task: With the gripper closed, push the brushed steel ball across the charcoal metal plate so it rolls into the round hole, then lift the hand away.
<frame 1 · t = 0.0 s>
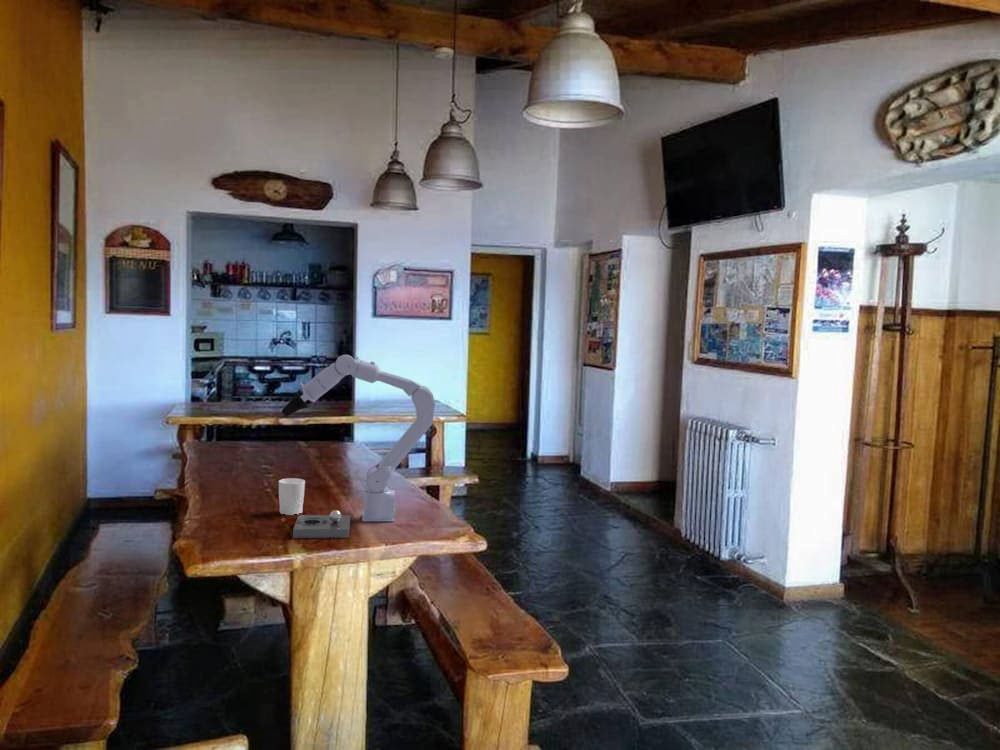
hand: (285, 412, 223), 32 cm above the table, tool tilted 50°, fingers open, 7 cm apart
hole plate: (322, 530, 215), on the table
steel ball: (335, 516, 215), point 4 cm above the table, touching hole plate
white cup: (291, 513, 233), on the table
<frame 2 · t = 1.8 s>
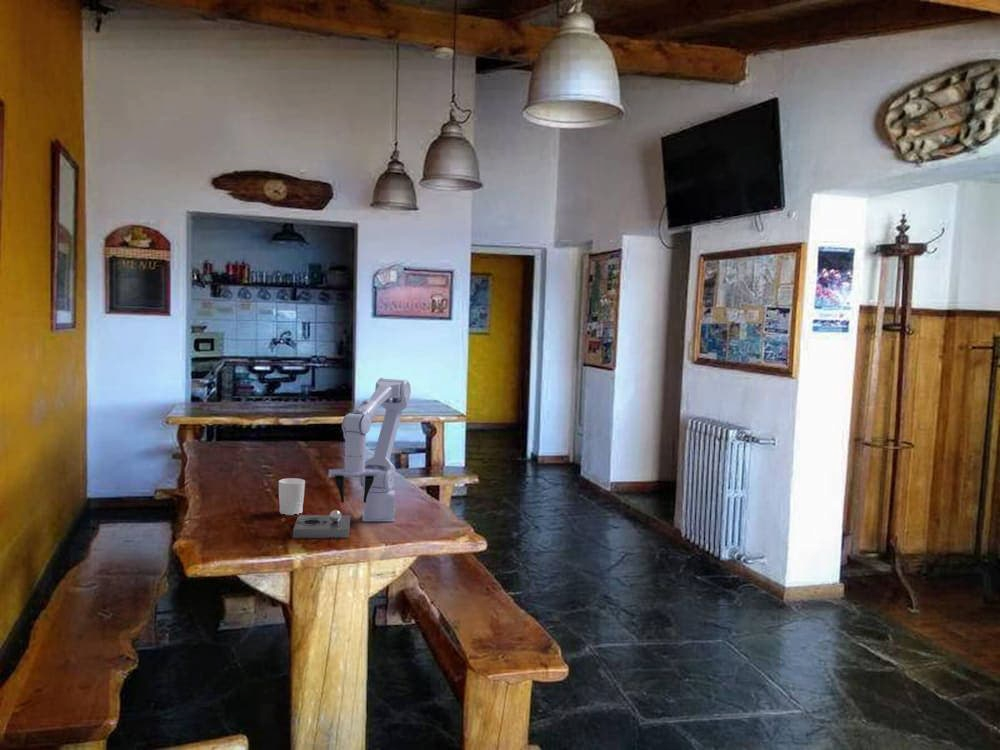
hand: (353, 501, 216), 8 cm above the table, tool pointing down, fingers open, 6 cm apart
nothing on the table moved.
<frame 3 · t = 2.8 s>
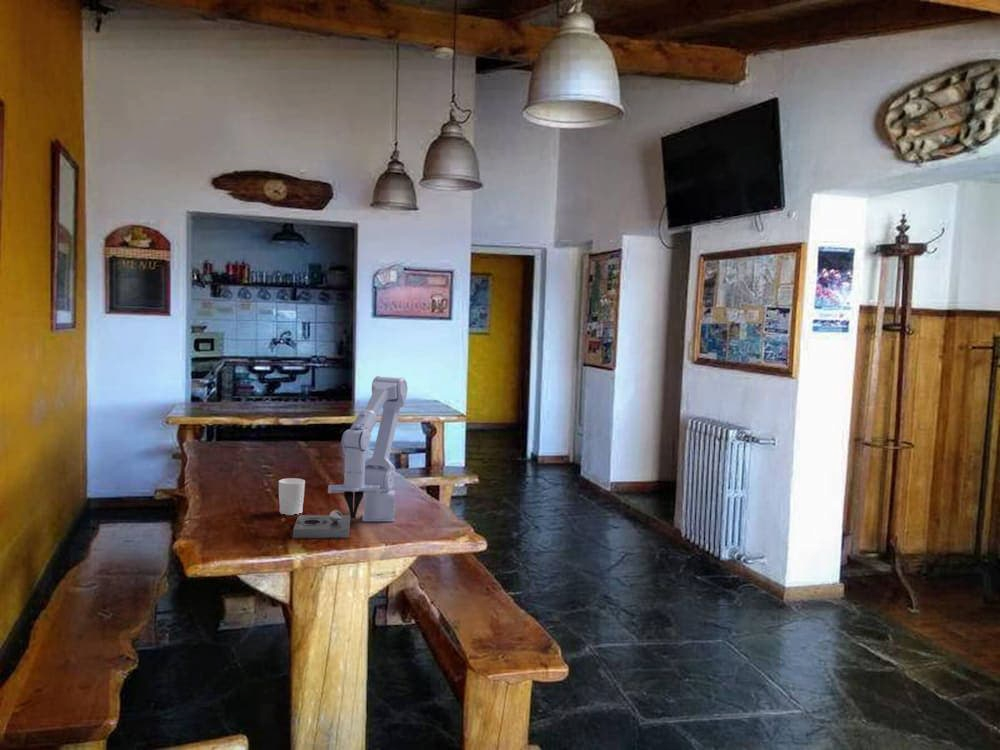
hand: (353, 517, 216), 4 cm above the table, tool pointing down, fingers closed
nothing on the table moved.
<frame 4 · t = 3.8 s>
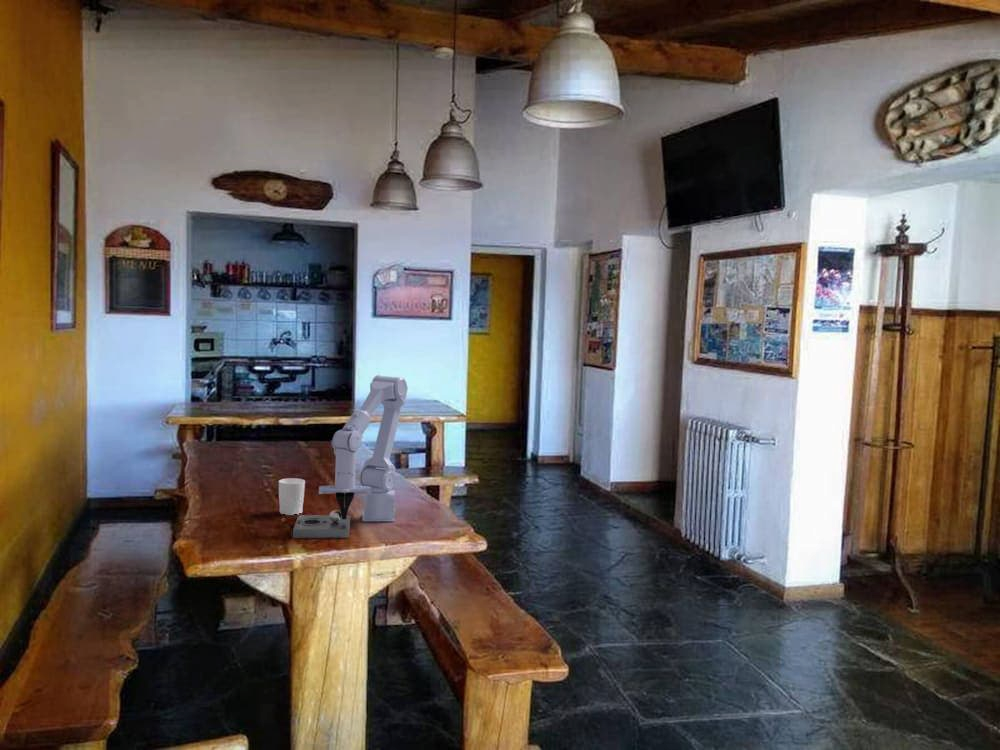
hand: (344, 518, 216), 4 cm above the table, tool pointing down, fingers closed, pressing on steel ball
steel ball: (335, 516, 215), point 4 cm above the table, touching gripper, hole plate
everything else where it was.
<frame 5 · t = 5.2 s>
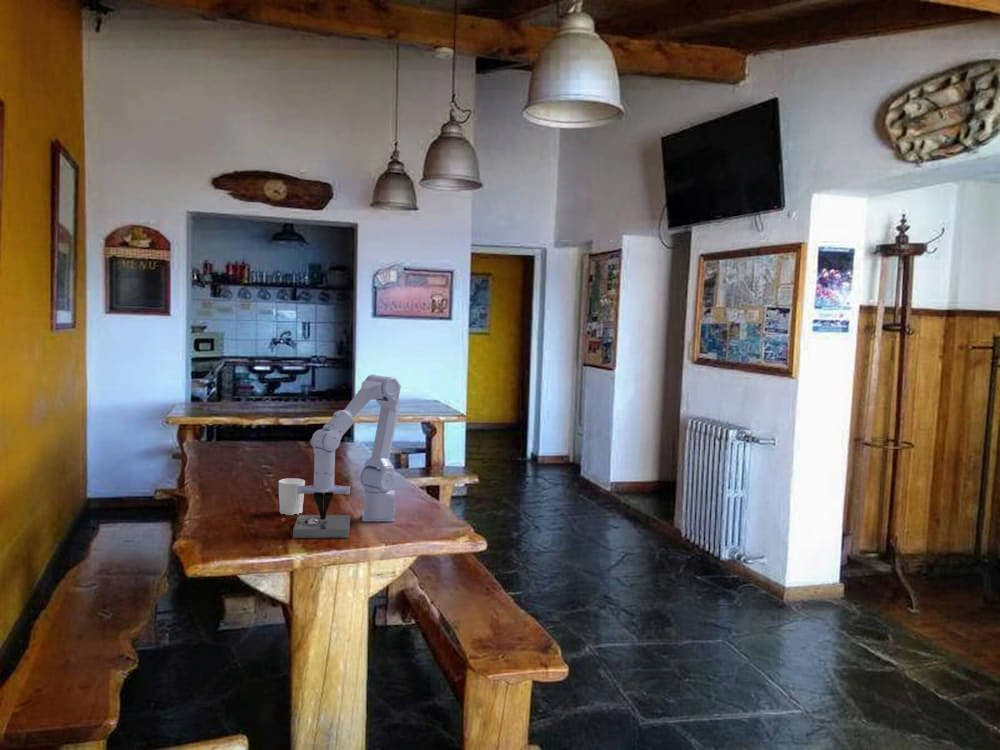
hand: (323, 518, 215), 4 cm above the table, tool pointing down, fingers closed
steel ball: (313, 524, 215), point 2 cm above the table, tilted 141°
everything else where it was.
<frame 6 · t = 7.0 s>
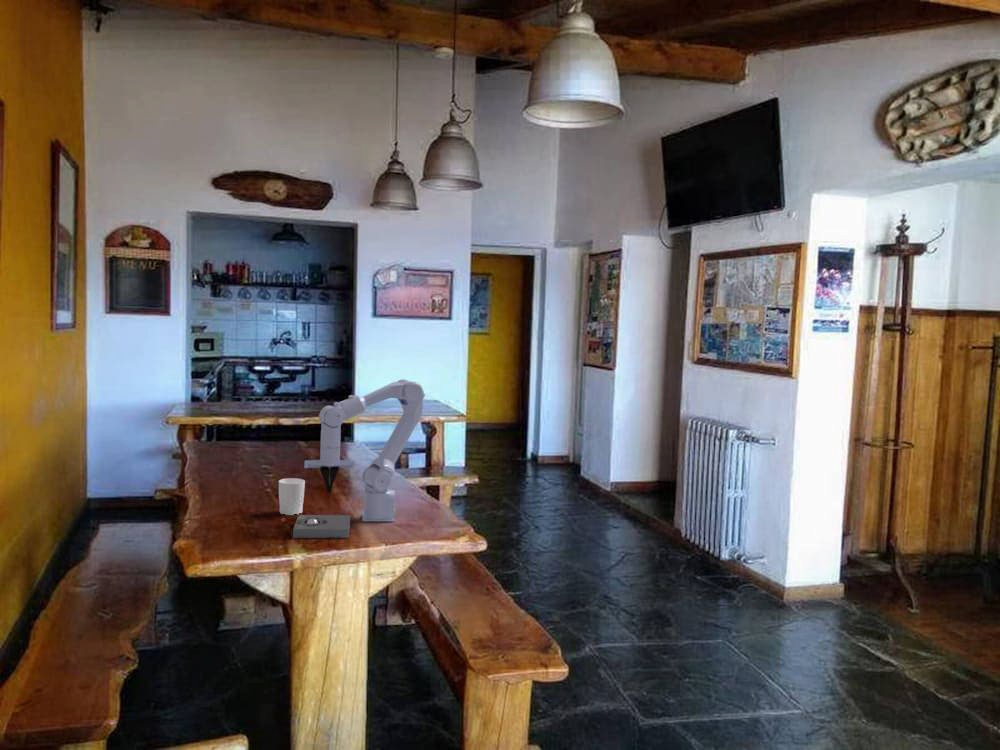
hand: (329, 492, 222), 9 cm above the table, tool pointing down, fingers closed
nothing on the table moved.
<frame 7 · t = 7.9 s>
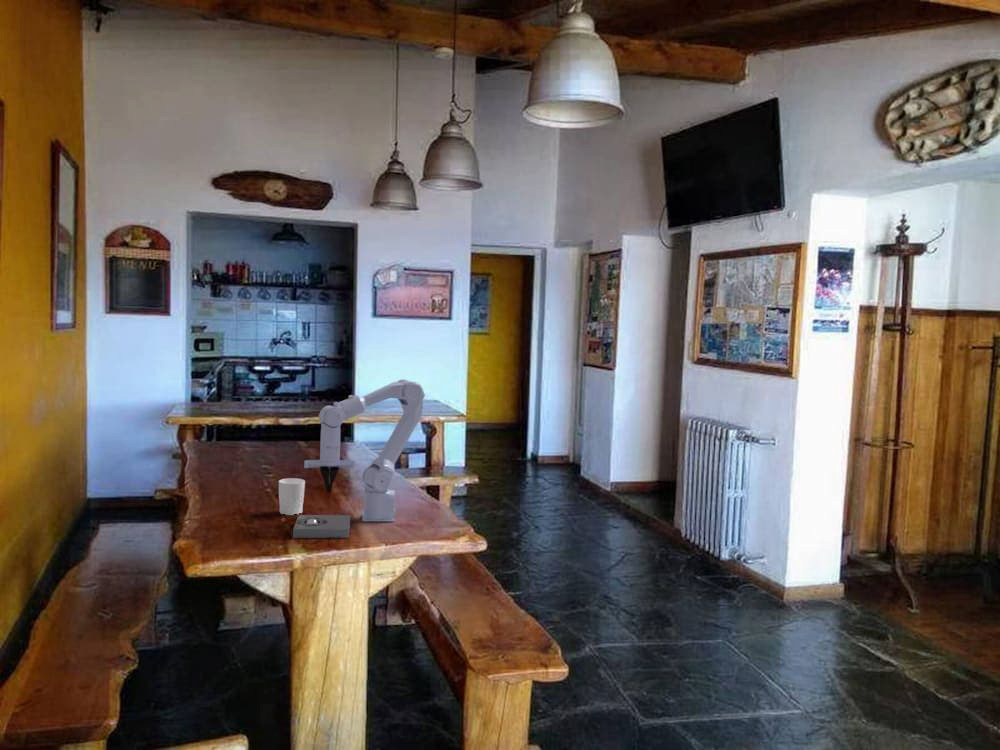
hand: (328, 491, 222), 9 cm above the table, tool pointing down, fingers closed
nothing on the table moved.
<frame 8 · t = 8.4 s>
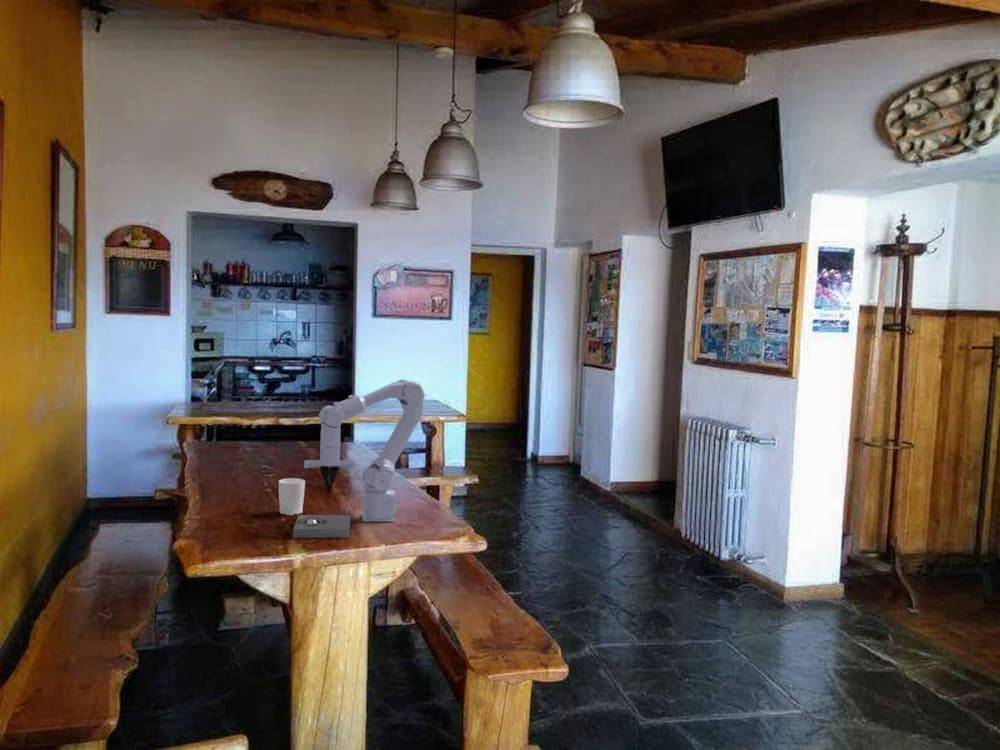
hand: (328, 491, 222), 9 cm above the table, tool pointing down, fingers closed
nothing on the table moved.
at the end: steel ball 0.1 cm from the target spot on the hole plate, point 1.7 cm above the hole plate's base; white cup moved 0.2 cm from its start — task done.
